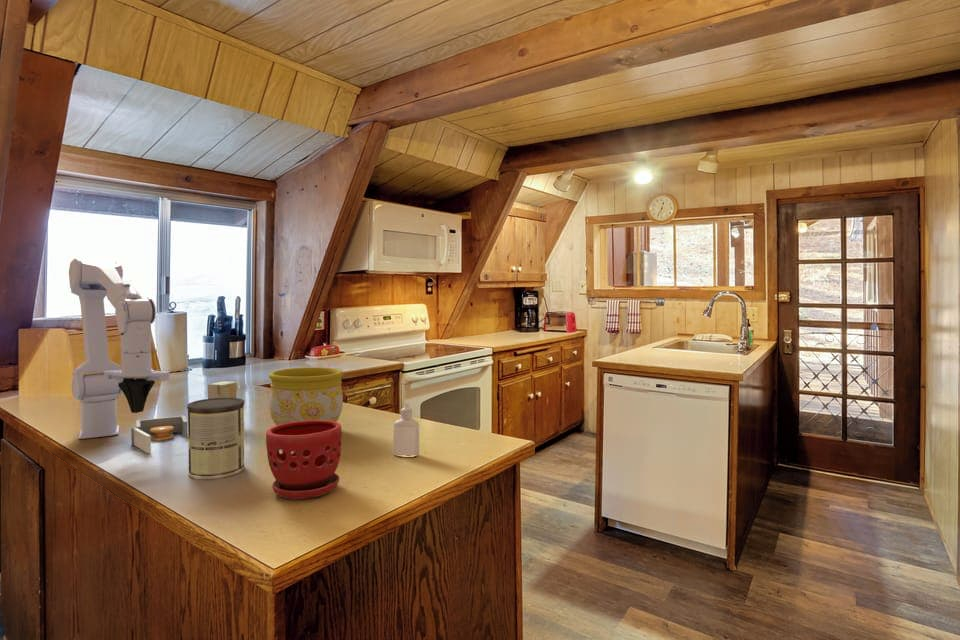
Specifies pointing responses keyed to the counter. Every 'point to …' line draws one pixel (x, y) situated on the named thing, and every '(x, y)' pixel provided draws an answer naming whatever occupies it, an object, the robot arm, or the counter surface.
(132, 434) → the cover
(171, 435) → the door knob
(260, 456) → the counter surface
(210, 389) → the skincare box
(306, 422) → the plant pot
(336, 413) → the flowerpot
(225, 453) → the coffee can
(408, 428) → the eye dropper bottle
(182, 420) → the open grey tray
